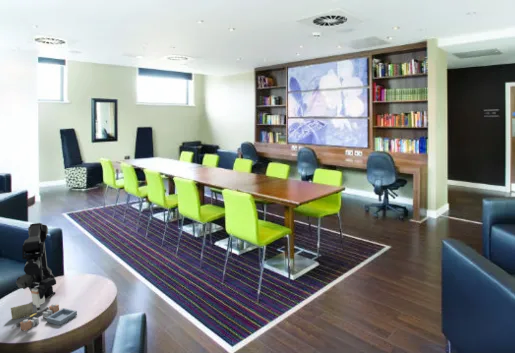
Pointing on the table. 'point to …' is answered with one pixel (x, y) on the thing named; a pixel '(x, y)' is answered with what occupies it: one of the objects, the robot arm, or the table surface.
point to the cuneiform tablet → (23, 311)
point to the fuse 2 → (54, 308)
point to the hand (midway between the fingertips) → (38, 298)
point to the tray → (61, 316)
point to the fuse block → (45, 312)
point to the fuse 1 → (25, 324)
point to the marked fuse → (36, 297)
